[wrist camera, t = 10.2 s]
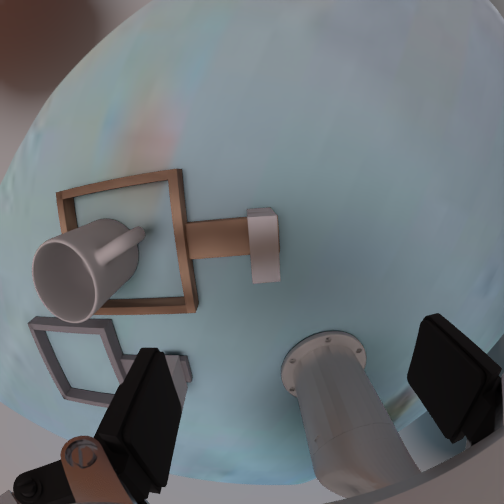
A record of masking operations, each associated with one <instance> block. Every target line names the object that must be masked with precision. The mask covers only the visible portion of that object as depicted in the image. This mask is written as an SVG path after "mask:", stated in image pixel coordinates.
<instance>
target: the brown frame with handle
mask: <svg viewBox="0 0 504 504" xmlns="http://www.w3.org/2000/svg"><path fill="white" fill-rule="evenodd" d="M165 180H168V183H169V193H170V202H171V211H172V219H173V227H174V235H175V242H176V249H177V256H178V262H179V269H180V275H181V281H182V287H183V292H184V297H168V298H145V299H112V300H107V301H106V302H105V303H104V304H103V305H102V306H101V307H100V308H99V310H98V311H97V312H96V313H95V314H94V315H146V314H179V313H196V310H197V307H198V304H199V301H198V295H197V289H196V282H195V276H194V269H193V262H192V259H202V258H214V257H227V256H239V255H250V257H251V269H252V280H253V284H256V283H267V282H279V281H280V262H279V252H280V245H279V227H278V216H277V215H276V214H275V212H274V211H273V210H272V209H271V208H270V207H268V208H255V209H247V217H239V218H227V219H216V220H205V221H195V222H187V215H186V206H185V197H184V187H183V176H182V169H171V170H164V171H158V172H151V173H145V174H139V175H134V176H128V177H123V178H118V179H113V180H108V181H103V182H98V183H94V184H89V185H85V186H80V187H76V188H72V189H68V190H64V191H60V192H56V198H57V206H58V214H59V220H60V227H61V232H62V234H64V233H66V232H69V231H71V230H74V229H76V228H78V227H77V221H76V214H75V207H74V199H73V197H76V196H81V195H85V194H90V193H95V192H100V191H105V190H110V189H116V188H121V187H127V186H132V185H138V184H145V183H151V182H158V181H165Z"/></svg>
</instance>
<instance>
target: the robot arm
mask: <svg viewBox="0 0 504 504" xmlns="http://www.w3.org/2000/svg"><path fill="white" fill-rule="evenodd" d="M365 365H366V352H365V349H364V347H363V345H362V344H361V343H360V341H359V340H358V339H357V338H356V337H354V336H352V335H350V334H349V333H345V332H340V331H329V332H323V333H319V334H315V335H313V336H311V337H308V338H306V339H305V340H303V341H301V342H300V343H298V344H297V345H296V346H295V347H294V348H293V349H292V350H291V351H290V352H289V353H288V354H287V356H286V358H285V359H284V362H283V364H282V368H281V377H282V382H283V385H284V387H285V388H286V390H287V391H288V392H289V393H290V394H292V395H293V396H295V397H297V398H298V402H299V407H300V411H301V416H302V420H303V424H304V429H305V433H306V438H307V442H308V446H309V451H310V455H311V460H312V464H313V469H314V472H315V475H316V477H317V479H318V480H319V482H320V483H321V484H322V485H323V486H324V487H326V488H327V489H329V490H330V491H332V492H334V493H336V494H338V495H340V496H342V497H345V498H347V499H343V500H339V501H334V502H330V503H325V504H504V374H503V375H502V377H501V378H500V377H499V374H500V372H501V369H502V368H501V367H500V366H499V365H498V364H496V363H495V362H494V361H493V360H492V359H491V358H490V357H489V356H488V355H487V354H486V353H485V352H483V351H482V350H481V349H480V348H479V347H478V346H477V345H476V344H475V343H473V342H472V341H471V340H470V339H469V338H468V337H467V336H465V335H464V334H463V333H462V332H461V331H460V330H458V329H457V328H456V327H455V326H454V325H453V324H451V323H450V322H449V321H448V320H447V319H445V318H444V317H443V316H442V315H440V314H439V313H436V314H432V315H428V316H426V317H425V318H424V319H423V321H422V322H421V324H420V328H419V332H418V336H417V341H416V345H415V349H414V353H413V356H412V360H411V364H410V367H409V371H408V374H407V380H408V383H409V384H410V386H411V387H412V389H413V390H414V391H415V393H416V394H417V396H418V397H419V399H420V400H421V402H422V403H423V405H424V406H425V407H426V409H427V410H428V412H429V413H430V415H431V416H432V418H433V419H434V421H435V423H436V424H437V426H438V427H439V429H440V430H441V432H442V433H443V435H444V436H445V438H447V439H450V441H451V442H452V443H455V442H457V441H459V440H461V439H463V437H464V436H466V437H467V442H466V448H465V451H463V452H461V453H459V454H458V455H456V456H454V457H452V458H450V459H449V460H447V461H445V462H443V463H441V464H439V465H437V466H435V467H433V468H430V469H428V470H426V471H424V472H421V471H420V470H419V468H418V467H417V465H416V464H415V462H414V460H413V459H412V457H411V455H410V454H409V452H408V450H407V448H406V447H405V445H404V443H403V441H402V439H401V437H400V435H399V434H398V432H397V430H396V428H395V426H394V424H393V422H392V420H391V418H390V416H389V415H388V413H387V411H386V409H385V407H384V405H383V403H382V402H381V400H380V398H379V396H378V394H377V393H376V391H375V389H374V387H373V385H372V384H371V382H370V380H369V378H368V376H367V375H366V373H365V371H364V368H365ZM181 414H182V407H181V403H180V400H179V397H178V394H177V392H176V389H175V386H174V383H173V380H172V376H171V373H170V370H169V367H168V364H167V360H166V357H165V354H164V353H163V352H160V351H159V349H158V348H141V349H140V351H139V353H138V354H137V356H136V358H135V360H134V362H133V364H132V366H131V368H130V370H129V372H128V373H127V375H126V377H125V379H124V381H123V383H121V384H120V385H119V387H118V389H117V391H116V393H115V395H114V397H113V399H112V401H111V403H110V405H109V407H108V409H107V411H106V413H105V415H104V417H103V419H102V421H101V423H100V425H99V427H98V429H97V432H96V434H95V436H94V438H93V437H89V436H78V437H74V438H72V439H70V440H69V441H68V442H66V443H65V445H64V446H63V448H62V450H61V460H59V461H56V462H53V463H51V464H48V465H45V466H42V467H39V468H37V469H33V470H30V471H27V472H24V473H22V474H20V475H19V476H18V477H17V478H16V480H15V482H14V486H13V491H14V492H11V491H10V490H8V491H6V492H5V493H4V494H2V495H1V496H0V504H149V502H148V501H147V500H146V499H147V498H148V495H149V492H152V493H158V494H160V492H161V487H165V486H166V485H167V481H168V476H169V471H170V466H171V461H172V456H173V451H174V447H175V442H176V437H177V432H178V428H179V423H180V419H181Z"/></svg>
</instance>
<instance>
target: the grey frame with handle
mask: <svg viewBox="0 0 504 504" xmlns="http://www.w3.org/2000/svg"><path fill="white" fill-rule="evenodd" d="M28 326H29V328H30V331H31V333H32V336H33V338H34V341H35V343H36V345H37V347H38V350H39V352H40V354H41V356H42V358H43V361H44V363H45V365H46V367H47V369H48V371H49V373H50V375H51V377H52V378H53V380H54V382H55V384H56V386H57V388H58V389H59V391H60V393H61V395H62V396H63V398H64V399H66V400H71V401H75V402H80V403H85V404H90V405H95V406H101V407H107V408H108V407H109V405H110V403H111V401H112V399H113V397H114V395H113V394H106V393H99V392H92V391H86V390H81V389H75V388H71V387H70V385H69V383H68V381H67V379H66V377H65V375H64V373H63V371H62V369H61V367H60V365H59V363H58V361H57V359H56V356H55V354H54V352H53V350H52V347H51V345H50V343H49V340H48V338H47V335H46V333H45V331H55V332H67V333H81V334H100V335H101V338H102V341H103V344H104V347H105V349H106V352H107V354H108V357H109V360H110V362H111V365H112V367H113V369H114V372H115V374H116V376H117V379H118V381H119V383H120V384H121V383H123V381H124V379H125V377H126V375H127V373H128V372H129V370H130V368H131V366H132V364H133V362H134V360H135V358H136V356H137V355H123V353H122V350H121V348H120V345H119V342H118V339H117V336H116V333H115V330H114V327H113V323H112V320H111V319H88V320H86V321H84V322H81V323H69V322H66V321H63V320H61V319H59V318H51V317H35V318H33V319H32V320H31V321H30V322H29V323H28ZM165 357H166V360H167V364H168V367H169V370H170V373H171V376H172V380H173V383H174V386H175V389H176V392H177V394H178V397H179V400H180V403H181V407H182V410H183V405H184V401H185V397H186V392H187V388H188V387H187V383H186V382H191V381H192V373H191V370H190V366H189V362H188V358H187V356H179V355H165Z"/></svg>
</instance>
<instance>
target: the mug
mask: <svg viewBox="0 0 504 504" xmlns="http://www.w3.org/2000/svg"><path fill="white" fill-rule="evenodd" d="M144 238H145V231H144V230H143V228H142V227H139V226H138V227H135V228H133V229H131V230H129V229H128V228H127V227H126V226H124V225H123V224H122V223H120V222H118V221H116V220H113V219H99V220H96V221H94V222H91V223H89V224H87V225H84V226H81V227H79V228H76V229H74V230H71V231H69V232H66V233H64V234H61V235H59V236H56V237H54V238H51V239H49V240H47V241H45V242H44V243H43V244H42V245H41V246H40V247H39V248H38V249H37V251H36V253H35V255H34V259H33V264H32V276H33V281H34V285H35V288H36V291H37V293H38V295H39V297H40V299H41V301H42V302H43V304H44V305H45V306H46V308H47V309H48V310H49V311H50V312H51V313H52V314H54V315H55V316H56V317H58V318H59V319H61V320H63V321H66V322H69V323H81V322H84V321H86V320H88V319H89V318H90V317H92V316H93V315H94V314H95V313H96V312H97V311H98V310H99V308H100V307H101V306H102V305H103V304H104V303H105V302H106V301H107V300H108V299H109V298H110V297H111V296H112V295H113V294H114V293H115V292H116V291H117V290H118V289H119V288H120V287H121V286H122V285H123V284H124V283H126V282H127V281H128V280H129V279H130V278H131V276H132V275H133V274H134V272H135V270H136V268H137V264H138V259H139V253H138V247H137V243H139V242H140V241H142V240H143V239H144Z"/></svg>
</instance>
